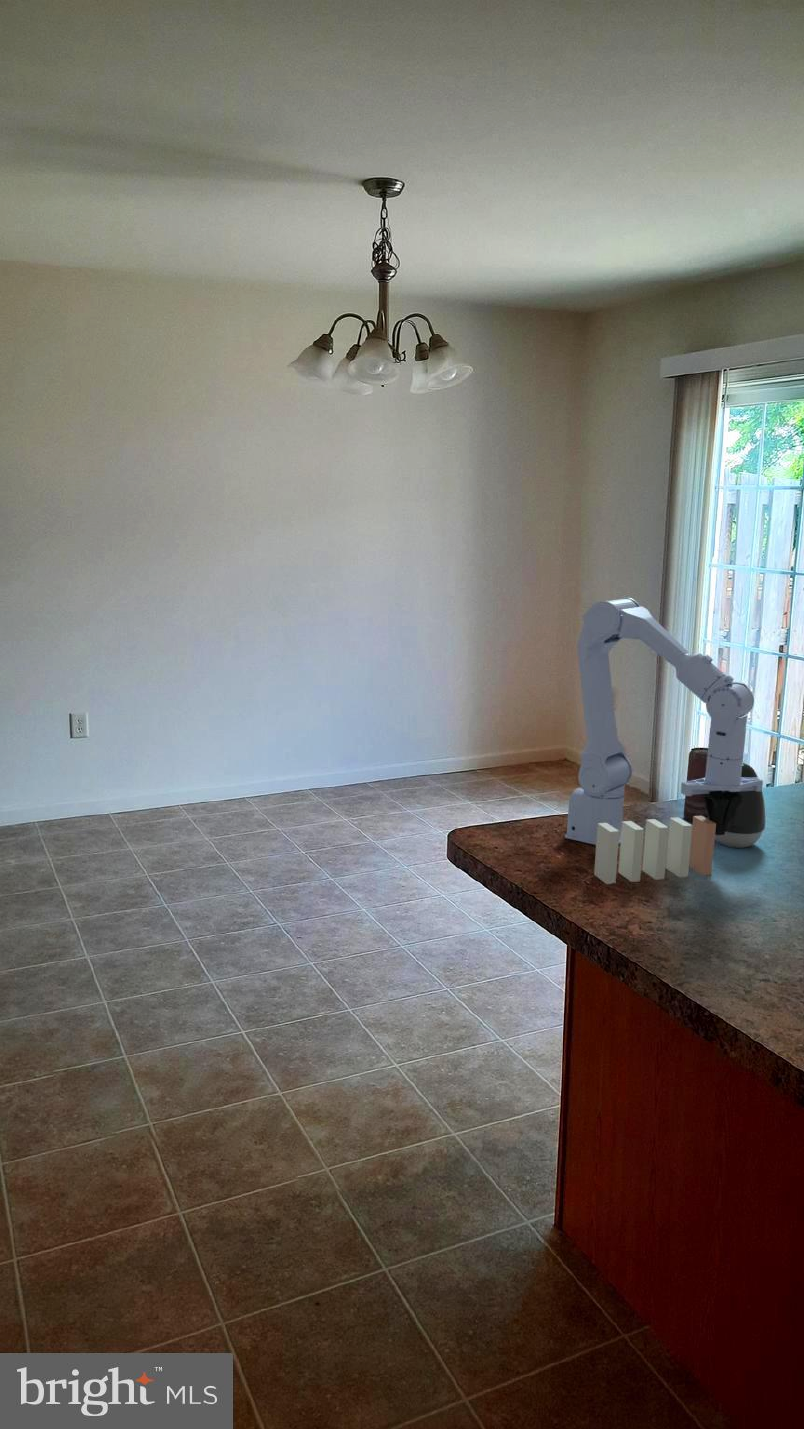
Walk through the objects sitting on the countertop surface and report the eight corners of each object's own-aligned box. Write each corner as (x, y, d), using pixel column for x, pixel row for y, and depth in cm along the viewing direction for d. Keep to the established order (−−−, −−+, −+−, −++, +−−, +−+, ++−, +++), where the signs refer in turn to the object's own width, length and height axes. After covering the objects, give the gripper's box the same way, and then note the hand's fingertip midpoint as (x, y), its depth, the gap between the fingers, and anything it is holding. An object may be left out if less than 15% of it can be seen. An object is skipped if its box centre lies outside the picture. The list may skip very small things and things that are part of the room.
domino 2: (631, 881, 173) (635, 829, 171) (618, 872, 177) (622, 821, 175) (639, 881, 173) (644, 829, 171) (626, 871, 177) (630, 820, 175)
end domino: (702, 875, 176) (707, 824, 175) (688, 866, 181) (693, 816, 179) (711, 874, 177) (716, 823, 175) (696, 865, 181) (701, 815, 179)
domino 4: (679, 877, 175) (683, 826, 173) (665, 868, 179) (669, 817, 177) (687, 876, 176) (692, 825, 174) (673, 867, 180) (678, 817, 178)
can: (719, 817, 208) (726, 749, 205) (710, 826, 202) (716, 755, 199) (689, 812, 211) (695, 744, 208) (679, 820, 206) (685, 750, 203)
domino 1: (606, 884, 171) (610, 831, 169) (594, 874, 175) (597, 823, 173) (615, 883, 172) (619, 831, 170) (602, 873, 176) (606, 822, 174)
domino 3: (655, 879, 174) (659, 827, 172) (642, 870, 178) (646, 819, 176) (664, 878, 174) (668, 827, 172) (650, 869, 178) (654, 819, 177)
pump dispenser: (692, 837, 196) (699, 758, 192) (736, 831, 200) (744, 754, 196) (729, 855, 186) (737, 773, 183) (775, 848, 191) (784, 768, 187)
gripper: (700, 764, 169) (693, 844, 172) (777, 759, 174) (768, 837, 177) (677, 753, 176) (670, 830, 179) (751, 749, 180) (743, 824, 183)
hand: (717, 833), depth 178 cm, fingers closed
